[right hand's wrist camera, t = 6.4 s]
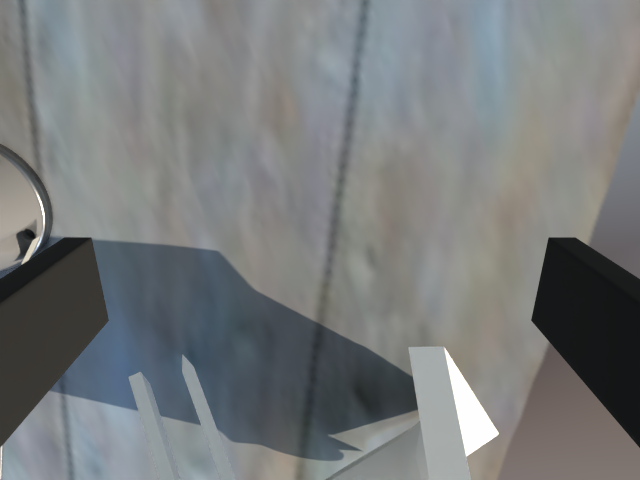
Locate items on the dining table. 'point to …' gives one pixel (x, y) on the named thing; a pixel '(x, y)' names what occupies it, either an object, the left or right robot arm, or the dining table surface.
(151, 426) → the white plastic object
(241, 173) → the dining table surface
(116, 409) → the dining table surface
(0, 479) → the invitation card
